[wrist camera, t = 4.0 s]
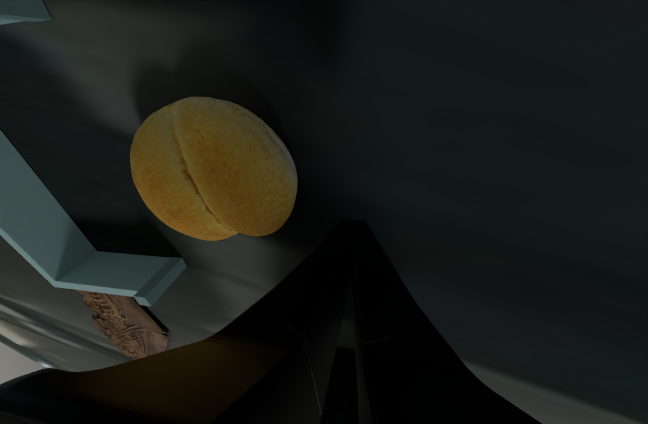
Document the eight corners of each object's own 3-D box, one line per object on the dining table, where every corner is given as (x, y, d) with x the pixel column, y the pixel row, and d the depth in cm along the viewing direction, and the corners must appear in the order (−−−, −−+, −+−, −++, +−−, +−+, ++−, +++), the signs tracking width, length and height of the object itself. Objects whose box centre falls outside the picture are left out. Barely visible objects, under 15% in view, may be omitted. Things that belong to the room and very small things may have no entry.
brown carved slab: (50, 244, 23) (38, 252, 22) (157, 277, 23) (148, 285, 22) (122, 357, 38) (116, 364, 37) (187, 378, 38) (183, 385, 37)
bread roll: (316, 216, 16) (299, 260, 12) (203, 226, 18) (165, 265, 15) (274, 73, 11) (232, 82, 8) (134, 112, 14) (59, 131, 10)
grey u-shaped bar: (37, -9, 11) (-106, -34, 8) (186, 266, 21) (151, 306, 17) (-100, 17, 13) (-263, 5, 10) (95, 257, 23) (48, 292, 19)
